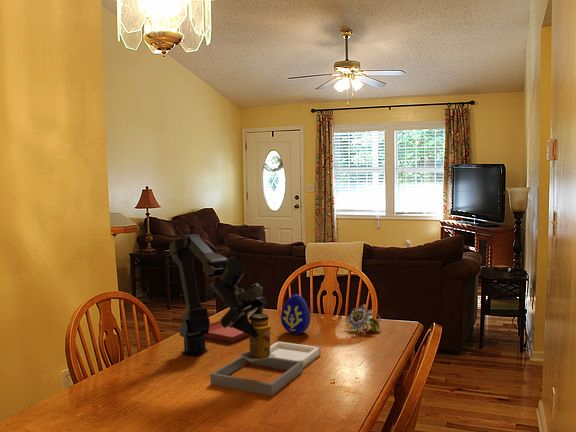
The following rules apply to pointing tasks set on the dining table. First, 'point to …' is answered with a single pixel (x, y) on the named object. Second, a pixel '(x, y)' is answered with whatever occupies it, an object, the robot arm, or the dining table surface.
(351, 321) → the passion flower
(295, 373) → the gray square frame
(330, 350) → the dining table surface
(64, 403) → the dining table surface
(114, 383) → the dining table surface
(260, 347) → the condiment
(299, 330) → the ornament
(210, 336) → the plant saucer
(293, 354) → the tray
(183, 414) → the dining table surface
